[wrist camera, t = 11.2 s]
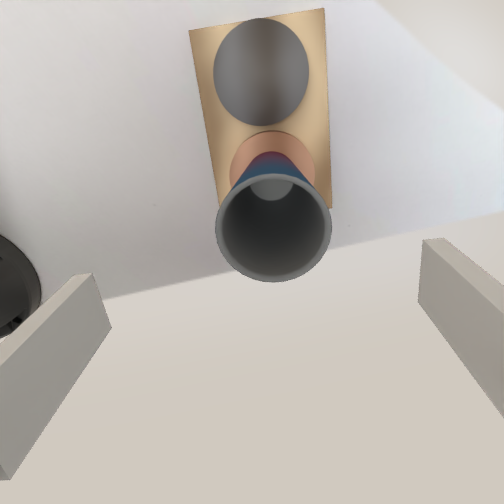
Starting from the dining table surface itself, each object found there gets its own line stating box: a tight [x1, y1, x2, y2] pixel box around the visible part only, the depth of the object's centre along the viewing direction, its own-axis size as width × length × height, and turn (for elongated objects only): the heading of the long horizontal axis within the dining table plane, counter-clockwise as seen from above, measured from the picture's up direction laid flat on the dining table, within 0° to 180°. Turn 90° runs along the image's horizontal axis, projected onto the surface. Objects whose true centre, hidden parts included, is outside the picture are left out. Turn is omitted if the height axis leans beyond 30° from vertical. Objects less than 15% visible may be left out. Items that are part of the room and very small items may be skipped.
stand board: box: [189, 8, 332, 209], centre depth 33 cm, size 12×18×3 cm, turn 8°
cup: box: [215, 151, 332, 282], centre depth 27 cm, size 7×7×15 cm
